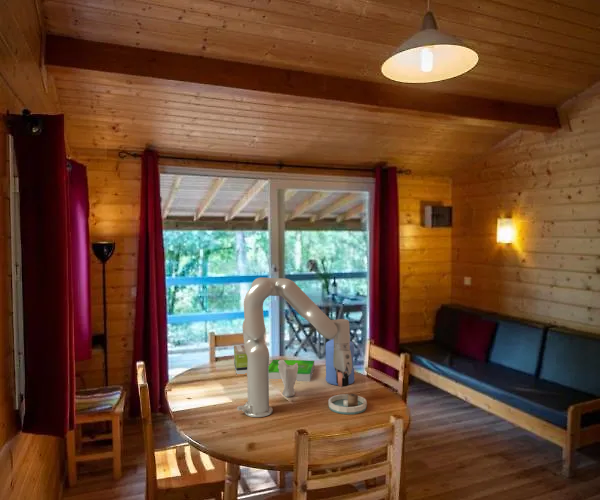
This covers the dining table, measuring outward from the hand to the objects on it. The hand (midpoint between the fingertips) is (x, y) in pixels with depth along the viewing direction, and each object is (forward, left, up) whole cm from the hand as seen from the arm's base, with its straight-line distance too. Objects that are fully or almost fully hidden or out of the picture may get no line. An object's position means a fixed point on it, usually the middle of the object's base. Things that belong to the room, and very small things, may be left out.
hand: (342, 384), depth 212 cm
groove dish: (0, -5, -9) cm, 10 cm away
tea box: (-25, +69, -10) cm, 74 cm away
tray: (-2, +54, -10) cm, 55 cm away
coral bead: (0, 0, -1) cm, 1 cm away
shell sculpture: (-18, +22, -10) cm, 30 cm away
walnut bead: (0, -9, -8) cm, 12 cm away
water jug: (+16, +29, -10) cm, 34 cm away
